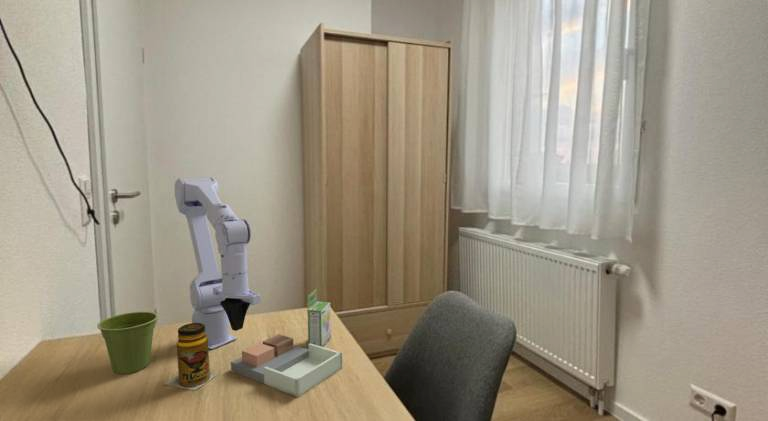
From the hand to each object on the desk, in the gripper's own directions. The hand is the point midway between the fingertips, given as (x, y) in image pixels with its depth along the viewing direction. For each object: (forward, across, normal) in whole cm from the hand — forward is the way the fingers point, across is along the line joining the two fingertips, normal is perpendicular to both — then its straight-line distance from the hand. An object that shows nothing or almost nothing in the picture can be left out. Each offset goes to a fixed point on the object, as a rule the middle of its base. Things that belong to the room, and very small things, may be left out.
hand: (237, 329), depth 97 cm
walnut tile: (+6, +7, +6) cm, 11 cm away
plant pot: (+8, -19, -15) cm, 25 cm away
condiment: (+8, -2, -11) cm, 14 cm away
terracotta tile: (+6, +7, 0) cm, 9 cm away
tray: (+8, +18, +3) cm, 20 cm away
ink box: (+8, +9, +18) cm, 22 cm away
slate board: (+8, +8, +3) cm, 12 cm away
